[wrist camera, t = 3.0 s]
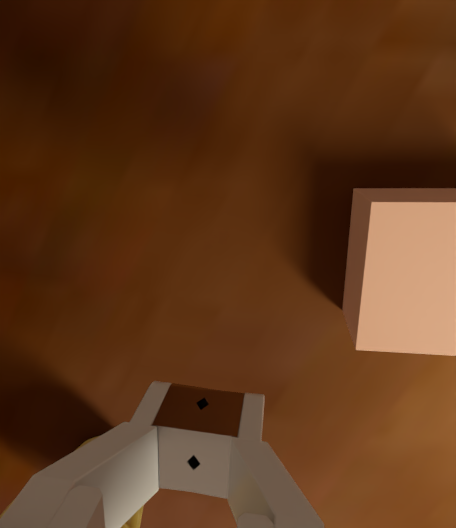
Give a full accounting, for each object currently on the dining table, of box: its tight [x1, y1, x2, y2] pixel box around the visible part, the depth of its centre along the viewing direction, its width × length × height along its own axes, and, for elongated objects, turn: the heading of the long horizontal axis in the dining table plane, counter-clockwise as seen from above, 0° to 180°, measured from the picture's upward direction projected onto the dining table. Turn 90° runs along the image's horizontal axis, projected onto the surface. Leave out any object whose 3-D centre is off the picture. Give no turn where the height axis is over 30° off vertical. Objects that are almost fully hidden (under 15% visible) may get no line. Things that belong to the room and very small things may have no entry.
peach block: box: [342, 188, 456, 356], centre depth 20 cm, size 8×8×5 cm
